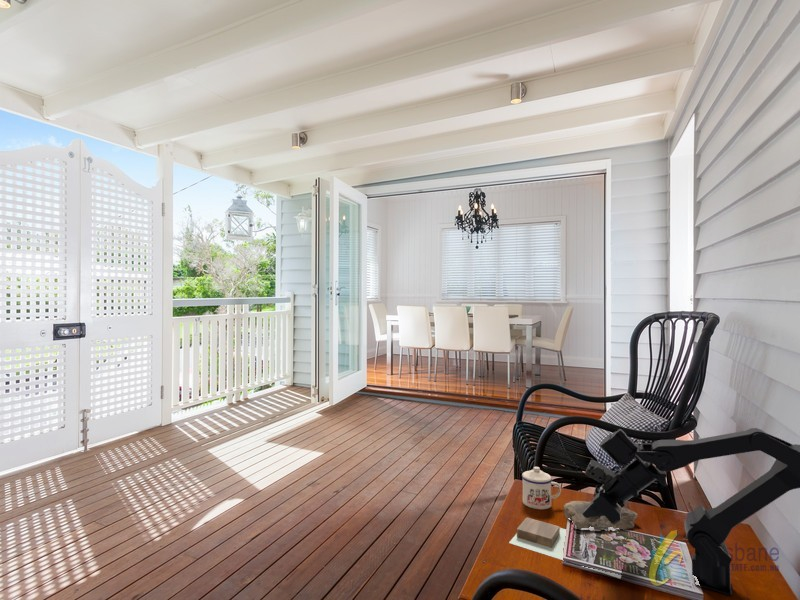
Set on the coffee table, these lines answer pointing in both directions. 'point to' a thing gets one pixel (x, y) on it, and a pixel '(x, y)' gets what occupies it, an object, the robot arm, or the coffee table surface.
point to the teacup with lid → (538, 489)
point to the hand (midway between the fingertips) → (584, 515)
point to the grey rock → (578, 507)
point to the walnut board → (538, 532)
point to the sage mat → (551, 549)
